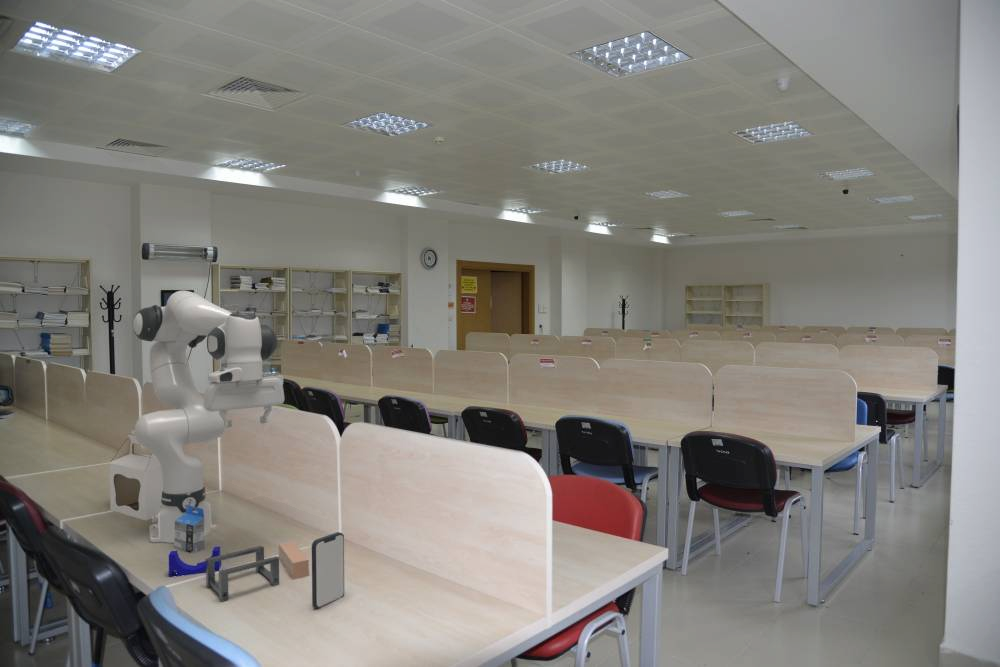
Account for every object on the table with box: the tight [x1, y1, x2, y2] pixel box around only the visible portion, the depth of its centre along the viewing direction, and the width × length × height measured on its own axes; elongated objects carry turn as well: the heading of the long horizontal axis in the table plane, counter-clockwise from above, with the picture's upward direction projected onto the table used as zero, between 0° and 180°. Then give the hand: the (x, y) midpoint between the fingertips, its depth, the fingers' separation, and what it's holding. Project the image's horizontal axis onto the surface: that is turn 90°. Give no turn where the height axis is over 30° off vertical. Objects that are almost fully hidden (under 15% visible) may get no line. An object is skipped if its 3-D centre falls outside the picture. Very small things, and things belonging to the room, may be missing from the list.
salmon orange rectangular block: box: [278, 540, 310, 580], centre depth 172 cm, size 16×4×5 cm, turn 31°
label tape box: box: [173, 505, 205, 554], centre depth 186 cm, size 9×4×12 cm, turn 60°
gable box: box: [108, 429, 163, 521], centre depth 220 cm, size 22×13×28 cm, turn 59°
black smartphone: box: [311, 531, 345, 609], centre depth 152 cm, size 9×2×16 cm, turn 144°
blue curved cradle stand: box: [168, 546, 222, 578], centre depth 171 cm, size 12×4×6 cm, turn 106°
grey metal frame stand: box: [205, 545, 280, 603], centre depth 161 cm, size 12×14×7 cm
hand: (246, 425), depth 172 cm, fingers open, 8 cm apart
